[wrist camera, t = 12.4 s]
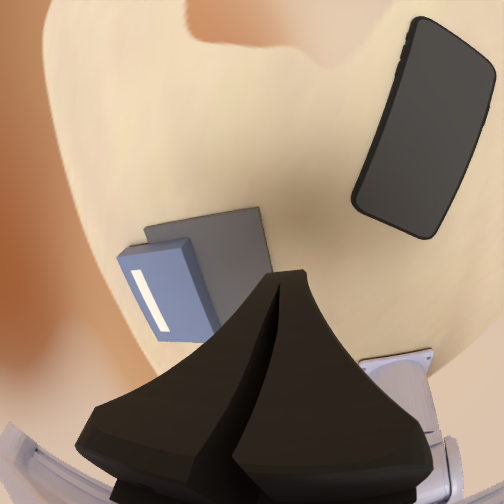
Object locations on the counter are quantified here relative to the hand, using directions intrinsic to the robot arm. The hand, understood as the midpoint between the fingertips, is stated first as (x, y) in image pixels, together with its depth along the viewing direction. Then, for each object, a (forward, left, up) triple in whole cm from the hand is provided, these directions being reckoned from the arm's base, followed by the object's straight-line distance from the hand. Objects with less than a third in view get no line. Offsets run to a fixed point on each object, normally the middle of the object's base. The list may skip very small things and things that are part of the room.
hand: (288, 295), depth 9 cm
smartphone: (+4, -10, -10) cm, 15 cm away
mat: (-6, +7, -10) cm, 14 cm away
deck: (-6, +8, -9) cm, 13 cm away
